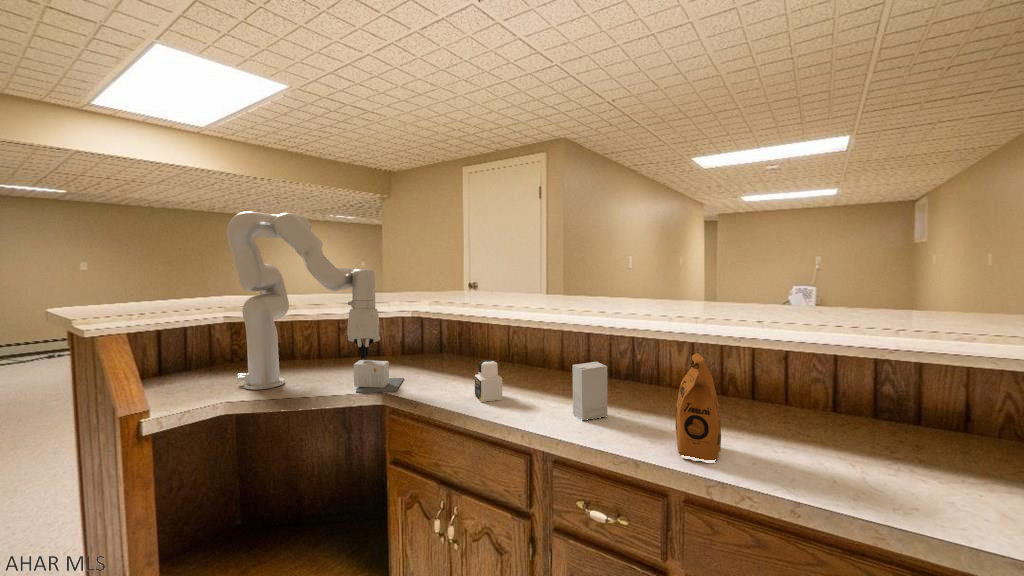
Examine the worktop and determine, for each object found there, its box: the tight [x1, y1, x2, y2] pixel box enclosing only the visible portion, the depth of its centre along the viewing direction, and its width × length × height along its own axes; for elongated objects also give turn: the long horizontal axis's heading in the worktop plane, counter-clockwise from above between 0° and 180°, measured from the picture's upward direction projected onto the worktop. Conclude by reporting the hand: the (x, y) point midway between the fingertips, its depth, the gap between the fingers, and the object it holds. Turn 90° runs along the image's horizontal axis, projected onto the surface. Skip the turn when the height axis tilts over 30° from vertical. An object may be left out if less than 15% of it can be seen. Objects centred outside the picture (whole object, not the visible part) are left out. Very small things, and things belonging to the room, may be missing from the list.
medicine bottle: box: [474, 359, 503, 403], centre depth 147 cm, size 7×7×12 cm
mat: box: [355, 377, 405, 394], centre depth 162 cm, size 13×16×1 cm
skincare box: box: [572, 361, 608, 420], centre depth 130 cm, size 8×6×15 cm
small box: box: [353, 359, 390, 388], centre depth 160 cm, size 8×6×10 cm
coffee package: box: [674, 352, 722, 460], centre depth 106 cm, size 10×12×22 cm
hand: (364, 357), depth 161 cm, fingers closed
